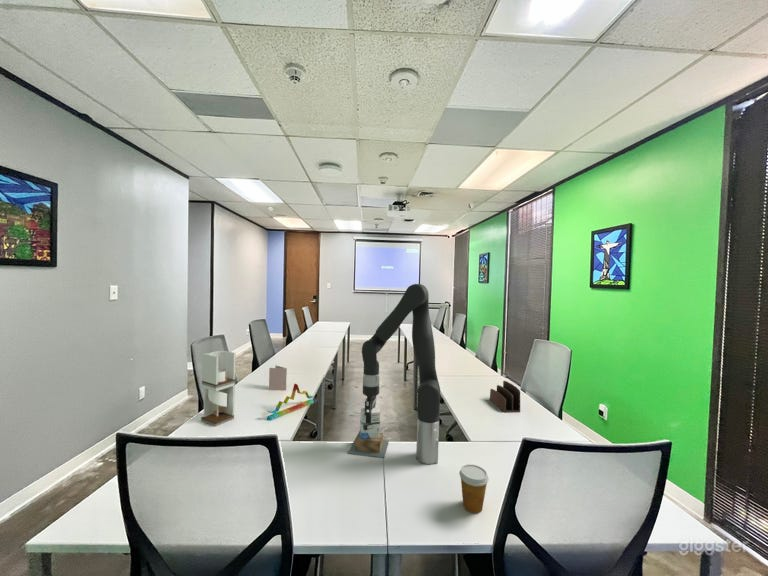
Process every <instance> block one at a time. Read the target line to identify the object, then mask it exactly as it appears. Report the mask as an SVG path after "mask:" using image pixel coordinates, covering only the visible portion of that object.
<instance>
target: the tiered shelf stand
mask: <svg viewBox="0 0 768 576" xmlns="http://www.w3.org/2000/svg"><path fill="white" fill-rule="evenodd" d="M236 355H237V354H236V352H231V351H227V350H216V351H212V352H205V353H202V363H201V364H202V367H201V368H202V369H201V371H202V373H201V388H203V416H201V417H200V421H201V422H202V423H204V424H207V425H210V426H213V427H217V426H220V425H222V424H225V423H227V422H230V421H232V420H235V399H236V398H235V395H236V393H235V392H236Z"/></svg>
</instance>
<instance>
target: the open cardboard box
mask: <svg viewBox="0 0 768 576" xmlns="http://www.w3.org/2000/svg"><path fill="white" fill-rule="evenodd" d="M355 438H356V441H355V450H361V451H369V452H377V453H380V450H381V447H382V444H383V440H384V439H383V438H384V433H383V432H380V438H367V439H361V436H360V430H359V431H358V433H357V435H356V437H355Z"/></svg>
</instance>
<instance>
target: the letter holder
mask: <svg viewBox="0 0 768 576" xmlns="http://www.w3.org/2000/svg"><path fill="white" fill-rule="evenodd" d="M502 383H503V385H502V386H501V385H500V384H497V385H496V390H495V389H493V388H490V390H489V391H490V392H489V401H490V402H492V403H493V404H494V405H495V406H496V407H498V408H499V409H500V410H501V411H502V412H503V413H521V390H520V388H518V387H517V386H516V385H514V384H512V383H511V382H509V381H506V380H503V381H502Z"/></svg>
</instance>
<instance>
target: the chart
mask: <svg viewBox="0 0 768 576" xmlns="http://www.w3.org/2000/svg"><path fill="white" fill-rule="evenodd" d="M296 392H297V394H300V395H305V396H306V398H307V400H305V401H303V402H300V403H297V404H295V405H293V406H289V407H287V408H284V409H282V410H280V408H281V407H282V405H283V404H285V405H286V404H288V402H289V400H292V401H294V400H295V396H296ZM312 398H314V395H310V394H309V393H308V391H307V390H303V391H301V390H300V387H299V385H298V384H297V383H294V384H293V387H292V392H291V395H290V396H288V395H287V396H286V397H285V399H284V400H283V401H280V400H279V401H278V403H277V405H276V408H275V409H273V410H272V411H270V410H267V412H268V413H271V414H270V415H267V416H266V419H267V420H268V421H273V420H276V419H278V418H281V417H283V416H285V415H287V414H290V413H294V412H295V411H297V410H301V409H303V408H305V407H308V406H309V405H312V404H314V403H315V402H314V399H312Z"/></svg>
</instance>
